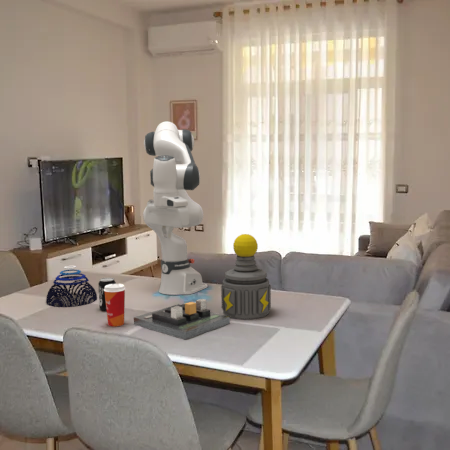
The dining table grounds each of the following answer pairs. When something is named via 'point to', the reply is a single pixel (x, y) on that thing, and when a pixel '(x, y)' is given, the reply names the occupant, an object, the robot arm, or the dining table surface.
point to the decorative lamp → (245, 284)
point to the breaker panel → (182, 331)
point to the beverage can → (102, 284)
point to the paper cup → (115, 304)
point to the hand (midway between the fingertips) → (166, 237)
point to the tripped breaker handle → (190, 308)
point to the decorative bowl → (64, 293)
